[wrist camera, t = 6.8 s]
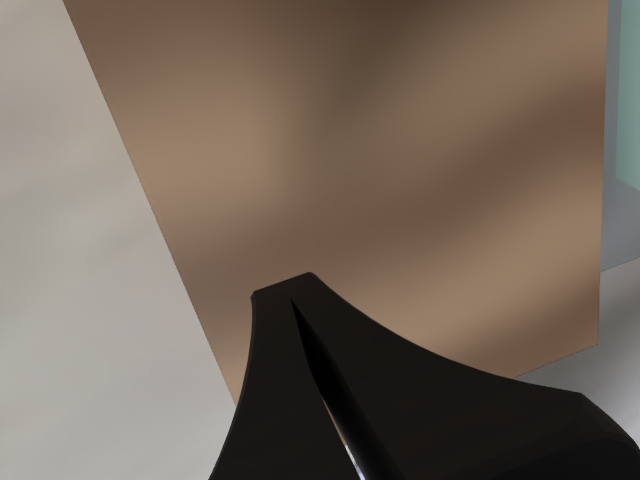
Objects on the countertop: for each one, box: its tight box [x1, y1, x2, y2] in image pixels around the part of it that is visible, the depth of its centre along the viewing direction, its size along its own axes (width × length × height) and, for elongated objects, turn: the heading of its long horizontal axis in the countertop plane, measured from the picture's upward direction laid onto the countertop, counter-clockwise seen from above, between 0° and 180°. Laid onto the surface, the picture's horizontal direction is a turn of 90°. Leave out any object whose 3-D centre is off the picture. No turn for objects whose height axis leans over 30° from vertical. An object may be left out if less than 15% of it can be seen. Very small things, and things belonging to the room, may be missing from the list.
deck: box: [63, 0, 608, 446], centre depth 18 cm, size 15×12×4 cm
